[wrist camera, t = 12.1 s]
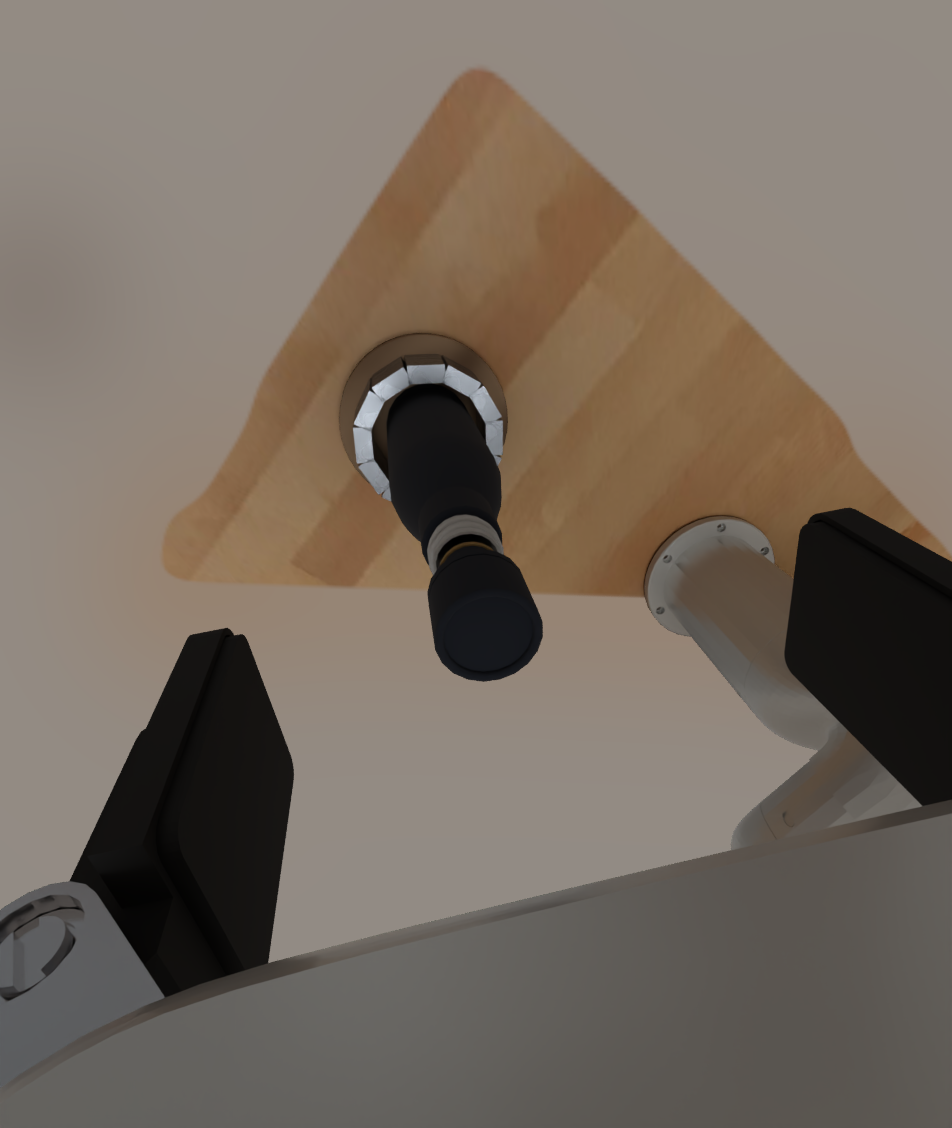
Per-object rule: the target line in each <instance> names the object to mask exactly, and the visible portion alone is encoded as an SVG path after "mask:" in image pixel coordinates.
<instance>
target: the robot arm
mask: <svg viewBox="0 0 952 1128" xmlns="http://www.w3.org/2000/svg"><path fill="white" fill-rule="evenodd" d="M774 562H775V559H774V554H773V549H772V547H771V545H770V542H769V540H768V539H767V538H766V536H765V535H764V534H763V533H762V532H761V531H760V530H759V529H757V528H756V527H755V526H754V525H752V524H750V523H748V522H747V521H745V520H742V519H739V518H735V517H729V516H716V517H708V518H705V519H701V520H698V521H695V522H693V523H691V524H689V525H687V526H685V527H683V528H682V529H680V530H679V531H677V532H676V533H675V534H673V535H672V536H671V537H670V538H669V539H668V540H667V541H666V542H665V543H664V544H663V545H662V546H661V547H660V549H659V550H658V551H657V552H656V554H655V555H654V557H653V559H652V561H651V563H650V565H649V568H648V571H647V574H646V577H645V585H644V591H645V599H646V602H647V605H648V608H649V610H650V611H651V613H652V614H653V616H654V617H655V618H656V620H658V622H659V623H660V624H661V625H662V626H664V627H665V628H666V629H667V630H670V631H672V632H674V633H676V634H680V635H684V636H691V637H692V638H693V639H694V641H695V642H696V643H697V644H698V645H699V647H700V648H701V649H702V650H703V651H704V653H705V654H706V655H707V656H708V658H709V659H710V660H711V661H712V663H713V664H714V665H715V666H716V667H717V669H718V670H719V671H720V672H721V674H722V675H723V676H724V677H725V679H726V680H727V681H728V682H729V683H730V685H731V686H732V687H733V688H734V690H735V691H736V692H737V693H738V695H739V696H740V697H741V698H742V699H743V700H744V702H745V703H746V704H747V705H748V707H749V708H750V709H751V710H752V712H753V713H754V714H755V715H756V716H757V717H758V719H759V720H760V721H761V722H762V723H763V724H764V725H765V726H766V727H767V728H768V729H770V730H771V731H772V732H774V733H775V734H777V735H778V736H780V737H782V738H784V739H785V740H787V741H790V742H792V743H795V744H797V745H800V746H803V747H807V748H810V749H815V750H819V751H818V752H817V753H816V754H815V755H814V756H813V757H811V759H810V761H809V762H808V763H807V764H806V765H804V766H803V767H802V768H801V769H800V770H798V771H797V772H796V773H795V774H794V775H792V776H791V777H790V778H789V779H788V780H786V781H785V782H784V783H783V784H782V785H781V786H779V787H778V788H777V789H776V790H775V791H774V792H772V793H771V794H770V795H769V796H768V797H766V798H765V799H764V800H763V801H762V802H760V803H759V804H758V805H757V806H756V807H755V808H753V809H752V811H750V812H749V813H748V814H747V815H746V816H745V817H744V818H743V819H742V820H741V822H740V823H739V824H738V826H737V827H736V829H735V831H734V833H733V835H732V840H731V851H727V852H722V853H718V854H713V855H710V856H705V857H701V858H697V859H692V860H688V861H684V862H679V863H675V864H671V865H667V866H663V867H658V868H654V869H650V870H645V871H641V872H637V873H633V874H628V875H624V876H620V877H615V878H611V879H607V880H603V881H599V882H594V883H591V884H586V885H582V886H578V887H574V888H569V889H565V890H562V891H557V892H553V893H549V894H544V895H540V896H536V897H532V898H528V899H524V900H519V901H515V902H511V903H507V904H503V905H498V906H494V907H491V908H486V909H482V910H478V911H473V912H469V913H465V914H461V915H457V916H453V917H449V918H444V919H440V920H436V921H432V922H428V923H424V924H419V925H415V926H411V927H407V928H403V929H399V930H395V931H391V932H388V933H383V934H380V935H376V936H372V937H368V938H364V939H361V940H356V941H353V942H348V943H345V944H341V945H337V946H333V947H329V948H325V949H321V950H317V951H314V952H310V953H306V954H302V955H298V956H294V957H290V958H286V959H283V960H279V961H275V962H271V963H268V959H269V952H270V946H271V938H272V931H273V924H274V917H275V910H276V903H277V895H278V888H279V881H280V874H281V866H282V860H283V852H284V845H285V838H286V831H287V824H288V816H289V809H290V802H291V795H292V788H293V780H294V769H293V763H292V759H291V755H290V752H289V750H288V747H287V745H286V742H285V739H284V736H283V734H282V731H281V728H280V726H279V723H278V720H277V718H276V715H275V713H274V710H273V707H272V704H271V702H270V699H269V697H268V694H267V691H266V689H265V686H264V683H263V681H262V678H261V675H260V673H259V670H258V668H257V665H256V662H255V659H254V657H253V654H252V651H251V649H250V646H249V643H248V641H247V639H246V637H245V636H244V635H242V634H240V635H235V636H234V634H233V633H232V631H231V630H230V629H228V628H224V629H219V630H213V631H209V632H203V633H198V634H193V635H190V636H189V637H188V639H187V640H186V643H185V645H184V647H183V649H182V651H181V653H180V656H179V658H178V660H177V662H176V664H175V667H174V669H173V671H172V673H171V675H170V678H169V680H168V682H167V684H166V686H165V688H164V691H163V693H162V695H161V697H160V699H159V701H158V704H157V706H156V708H155V710H154V712H153V714H152V717H151V719H150V721H149V723H148V725H147V727H146V729H144V730H143V731H141V733H140V734H139V736H138V738H137V739H136V741H135V743H134V745H133V747H132V749H131V752H130V753H129V756H128V758H127V760H126V762H125V764H124V766H123V768H122V771H121V773H120V775H119V777H118V779H117V781H116V783H115V785H114V788H113V790H112V792H111V794H110V796H109V798H108V800H107V802H106V805H105V807H104V809H103V811H102V813H101V815H100V818H99V820H98V822H97V824H96V826H95V828H94V830H93V832H92V834H91V837H90V839H89V841H88V843H87V845H86V848H85V849H84V851H83V854H82V856H81V858H80V860H79V862H78V865H77V866H76V869H75V871H74V873H73V875H72V877H71V879H70V881H69V882H62V883H55V884H50V885H47V886H44V887H42V888H39V889H37V890H34V891H31V892H29V893H27V894H25V895H23V896H22V897H20V898H18V899H17V900H15V901H13V902H12V903H10V904H8V905H7V906H5V907H4V908H2V909H1V910H0V1128H952V562H951V561H949V560H947V559H946V558H944V557H942V556H940V555H938V554H936V553H935V552H933V551H931V550H929V549H927V548H925V547H924V546H922V545H920V544H918V543H916V542H914V541H912V540H911V539H909V538H907V537H905V536H903V535H901V534H900V533H898V532H896V531H894V530H892V529H890V528H889V527H887V526H885V525H883V524H881V523H879V522H877V521H876V520H874V519H872V518H870V517H868V516H866V515H865V514H863V513H861V512H859V511H857V510H855V509H852V508H844V509H839V510H834V511H828V512H823V513H818V514H815V515H813V516H812V517H811V518H810V519H809V521H808V524H806V525H804V526H803V527H802V529H801V530H800V534H799V541H798V549H797V557H796V565H795V572H794V579H793V578H791V577H790V576H789V575H788V574H786V573H785V572H784V571H783V570H781V569H780V568H779V567H777V566H776V565H775V564H774Z"/></svg>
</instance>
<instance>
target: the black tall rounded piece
mask: <svg viewBox="0 0 952 1128" xmlns="http://www.w3.org/2000/svg"><path fill="white" fill-rule="evenodd" d="M386 427H387V448H388V469H389V487H390V495H391V501H392V503H393V506H394V508H395V510H396V512H397V514H398V516H399V518H400V519H401V521H402V523H403V524H404V526H405V527H406V528H407V530H408V531H409V532H410V533H411V534H412V535H413V536H414V537H415V538H416V539H417V540H418V541H420V542H421V546H422V553H423V555H424V557H425V560H426V562H427V564H428V565H429V567H430V570H431V572H432V574H433V577H432V578H431V581H430V585H429V589H428V602H429V609H430V617H431V623H432V630H433V636H434V637H433V638H434V644H435V650H436V652H437V654H438V656H439V658H440V660H441V662H442V663H443V664H444V665H445V666H446V667H447V668H448V669H449V670H450V671H452V672H453V673H454V674H457V675H459V676H461V677H463V678H466V679H468V680H476V681H483V682H484V681H491V680H498V679H502V678H504V677H507V676H509V675H512V674H514V673H516V672H517V671H519V670H520V669H521V668H523V667H524V666H525V665H527V664H528V663H529V662H530V660H531V659H532V658H533V656H534V655H535V654H536V652H537V651H538V648H539V645H540V642H541V640H542V637H543V634H542V633H543V630H542V629H543V627H542V626H543V625H542V619H541V617H540V614H539V612H538V609H537V607H536V605H535V603H534V600H533V598H532V596H531V594H530V591H529V589H528V587H527V585H526V582H525V580H524V578H523V576H522V574H521V571H520V569H519V568H518V567H517V566H516V564H515V563H514V562H513V561H512V560H511V559H510V558H508V557H506V556H505V555H504V553H503V546H502V533H501V530H500V528H499V525H498V523H497V517H498V514H499V510H500V507H501V498H502V497H501V475H500V471H499V468H498V466H497V463H496V461H495V458H494V456H493V454H492V453H491V451H490V449H489V447H488V446H487V444H486V442H485V440H484V439H483V437H482V435H481V433H480V432H479V430H478V428H477V426H476V424H475V423H474V421H473V419H472V417H471V416H470V414H469V412H468V410H467V409H466V407H465V405H464V403H463V402H462V401H461V400H460V399H459V397H458V396H457V395H456V394H455V393H454V392H452V391H451V390H449V389H447V388H446V387H444V386H440V385H436V384H432V383H428V384H417V385H415V386H413V387H410V388H408V389H406V390H404V391H403V392H402V393H401V394H400V395H399V396H398V397H397V398H396V399H395V400H394V402H393V404H392V406H391V407H390V409H389V412H388V417H387V422H386Z"/></svg>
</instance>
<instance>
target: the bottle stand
mask: <svg viewBox="0 0 952 1128" xmlns="http://www.w3.org/2000/svg"><path fill="white" fill-rule="evenodd" d="M428 383H432V384H436V385H440V386H444V387H446V388H447V389H449V390H451V391H452V392H454V393H455V394H456V395H457V396H458V397H459V399H460V400H461V401H462V402H463V403H464V405H465V407H466V409H467V410H468V412H469V414H470V416H471V417H472V419H473V421H474V423H475V424H476V426H477V428H478V430H479V432H480V433H481V435H482V437H483V439H484V440H485V442H486V444H487V446H488V447H489V449H490V451H491V453H492V454H493V456H494V458H495V461H496V463H497V466H498V464H499V462H500V461H501V459H502V458H501V457H500V455H503V445H504V442H505V438H506V433H507V423H508V417H507V406H506V401H505V397H504V394H503V391H502V388H501V386H500V384H499V382H498V380H497V378H496V376H495V375H494V373H493V372H492V370H491V369H490V368H489V367H488V365H487V364H486V363H485V362H484V361H483V360H482V359H481V358H480V357H479V356H478V355H477V354H476V353H475V352H474V351H472V350H471V349H470V348H468V347H466V346H465V345H463V344H462V343H460V342H458V341H455V340H453V339H451V338H448V337H445V336H441V335H436V334H428V333H416V334H407V335H403V336H399V337H396V338H393V339H391V340H388V341H386V342H384V343H382V344H381V345H379V346H377V347H376V348H374V349H373V350H372V351H371V352H369V353H368V354H367V355H366V356H365V357H364V358H363V359H362V360H361V361H360V362H359V363H358V365H357V366H356V368H355V369H354V370H353V372H352V374H351V376H350V377H349V379H348V381H347V384H346V387H345V389H344V392H343V396H342V401H341V405H340V415H339V422H340V432H341V438H342V442H343V445H344V448H345V451H346V453H347V455H348V457H349V459H350V461H351V462H352V464H353V465H354V467H355V469H356V470H357V471H358V472H359V473H360V475H361V476H362V477H363V478H364V479H365V480H366V481H367V482H368V483H370V484H371V485H372V486H373V488H374V489H375V490H376V492H377V493H378V494H381V493H382V497H383V498H385V499H387V500H389V501H391V495H390V487H389V469H388V448H387V427H386V422H387V417H388V412H389V409H390V407H391V406H392V404H393V402H394V400H395V399H396V398H397V397H398V396H399V395H400V394H401V393H402V392H403V391H404V390H406V389H408V388H410V387H413V386H415V385H417V384H428ZM391 502H392V501H391Z"/></svg>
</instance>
